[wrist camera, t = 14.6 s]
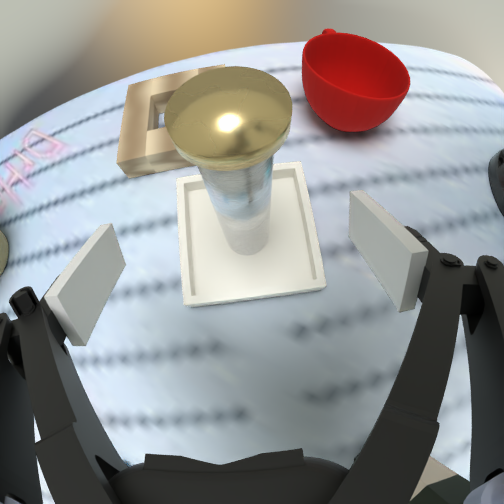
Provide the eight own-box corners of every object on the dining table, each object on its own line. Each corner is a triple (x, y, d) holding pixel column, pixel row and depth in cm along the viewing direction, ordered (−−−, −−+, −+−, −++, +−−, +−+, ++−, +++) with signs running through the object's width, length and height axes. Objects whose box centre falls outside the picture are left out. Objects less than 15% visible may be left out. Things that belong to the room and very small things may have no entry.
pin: (271, 204, 32) (279, 61, 13) (280, 258, 30) (305, 147, 12) (216, 212, 32) (167, 77, 13) (221, 266, 30) (162, 167, 12)
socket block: (227, 83, 38) (224, 64, 34) (237, 158, 34) (234, 139, 31) (137, 102, 38) (128, 85, 34) (129, 178, 35) (116, 163, 31)
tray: (298, 174, 34) (300, 161, 31) (320, 290, 30) (326, 286, 27) (183, 190, 34) (176, 178, 31) (191, 307, 30) (183, 305, 27)
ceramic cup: (356, 67, 39) (369, 21, 29) (399, 148, 34) (429, 102, 25) (279, 70, 39) (281, 18, 29) (310, 156, 34) (324, 101, 25)
